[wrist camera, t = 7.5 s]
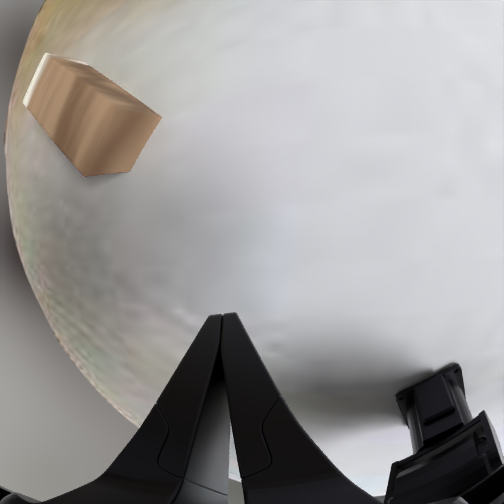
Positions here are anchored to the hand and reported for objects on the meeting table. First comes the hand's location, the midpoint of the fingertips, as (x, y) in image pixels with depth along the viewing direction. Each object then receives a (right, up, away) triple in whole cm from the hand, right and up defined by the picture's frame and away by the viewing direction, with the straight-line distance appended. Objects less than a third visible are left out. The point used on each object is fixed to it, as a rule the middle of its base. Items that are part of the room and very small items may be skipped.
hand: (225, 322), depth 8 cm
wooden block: (-8, +10, +8) cm, 15 cm away
